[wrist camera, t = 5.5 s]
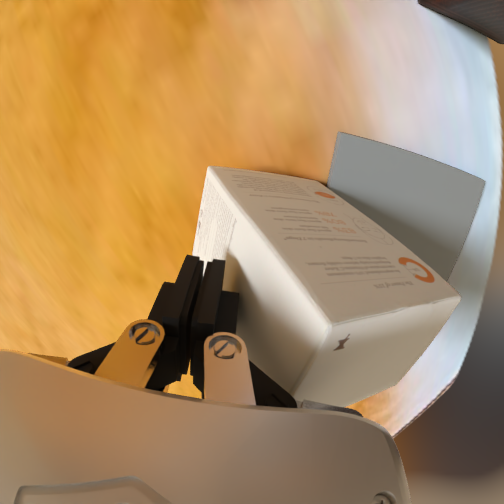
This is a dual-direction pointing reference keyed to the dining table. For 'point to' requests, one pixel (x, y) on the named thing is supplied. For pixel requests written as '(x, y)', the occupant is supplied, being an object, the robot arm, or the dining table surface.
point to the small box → (318, 285)
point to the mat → (407, 197)
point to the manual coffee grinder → (473, 14)
